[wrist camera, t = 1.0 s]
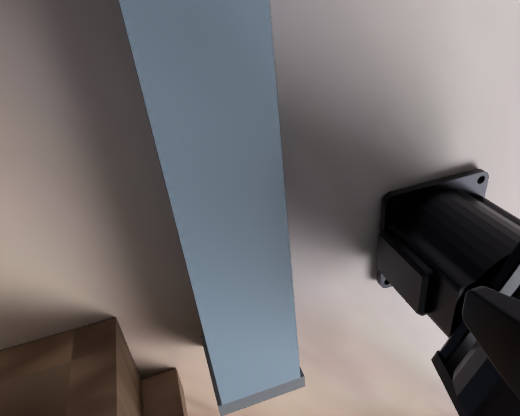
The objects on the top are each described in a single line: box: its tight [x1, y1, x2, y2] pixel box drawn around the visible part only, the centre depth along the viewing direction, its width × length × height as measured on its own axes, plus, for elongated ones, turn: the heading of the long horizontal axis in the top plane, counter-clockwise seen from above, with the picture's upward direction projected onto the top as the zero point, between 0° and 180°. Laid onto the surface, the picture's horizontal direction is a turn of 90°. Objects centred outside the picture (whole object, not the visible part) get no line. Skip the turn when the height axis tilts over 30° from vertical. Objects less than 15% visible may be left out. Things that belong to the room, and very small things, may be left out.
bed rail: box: [119, 0, 305, 416], centre depth 16 cm, size 4×22×4 cm, turn 6°
